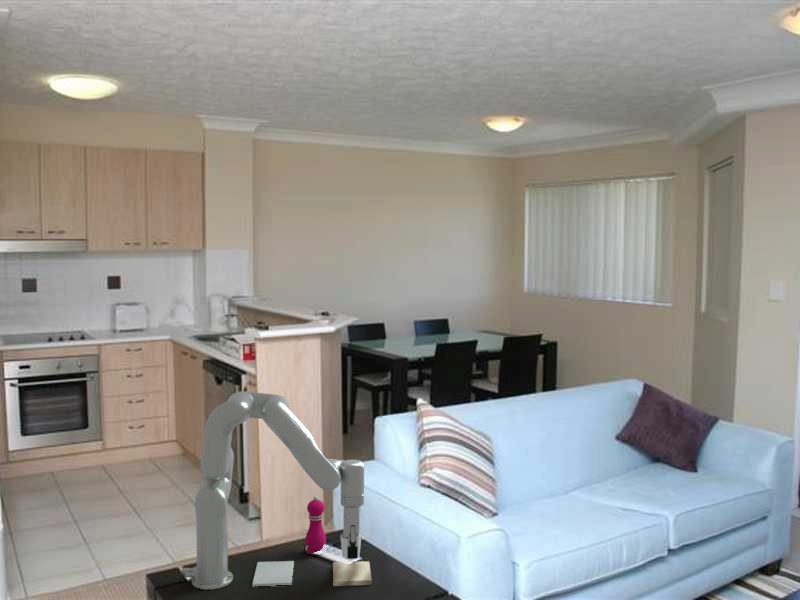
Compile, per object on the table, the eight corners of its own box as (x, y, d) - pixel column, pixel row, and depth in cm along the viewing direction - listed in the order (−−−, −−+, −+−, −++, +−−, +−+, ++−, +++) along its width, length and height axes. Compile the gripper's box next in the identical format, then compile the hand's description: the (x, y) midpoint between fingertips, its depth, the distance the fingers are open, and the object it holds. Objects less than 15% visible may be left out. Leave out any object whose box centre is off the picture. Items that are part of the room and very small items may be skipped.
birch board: (333, 586, 226) (333, 581, 226) (333, 566, 240) (333, 562, 240) (371, 584, 227) (371, 580, 227) (369, 565, 241) (369, 561, 241)
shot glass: (358, 561, 229) (358, 539, 229) (337, 559, 231) (337, 537, 230) (363, 552, 236) (363, 531, 235) (343, 550, 237) (343, 529, 237)
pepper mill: (330, 551, 253) (330, 495, 251) (317, 558, 246) (317, 500, 245) (314, 546, 256) (314, 491, 255) (300, 553, 250) (301, 496, 249)
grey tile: (252, 587, 225) (252, 583, 225) (257, 564, 241) (257, 562, 241) (291, 585, 226) (291, 582, 226) (294, 563, 242) (294, 561, 242)
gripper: (340, 490, 240) (340, 544, 241) (341, 508, 223) (340, 566, 224) (362, 490, 241) (362, 543, 242) (365, 508, 224) (365, 565, 225)
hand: (352, 553), depth 233 cm, fingers closed on shot glass, 5 cm apart
